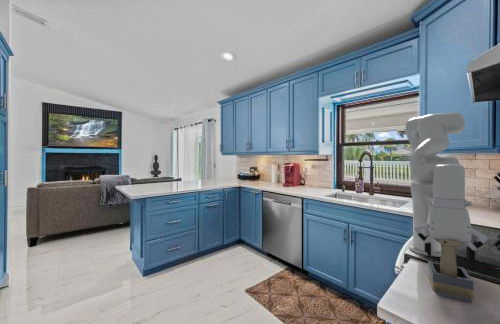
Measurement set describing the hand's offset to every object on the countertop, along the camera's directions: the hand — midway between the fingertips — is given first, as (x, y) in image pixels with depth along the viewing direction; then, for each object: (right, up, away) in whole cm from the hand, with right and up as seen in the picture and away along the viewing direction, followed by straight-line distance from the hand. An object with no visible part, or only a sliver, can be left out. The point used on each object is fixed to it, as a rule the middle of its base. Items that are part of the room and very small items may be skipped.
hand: (448, 258), depth 71 cm
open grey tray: (0, -9, 0) cm, 9 cm away
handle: (0, -9, 0) cm, 9 cm away
